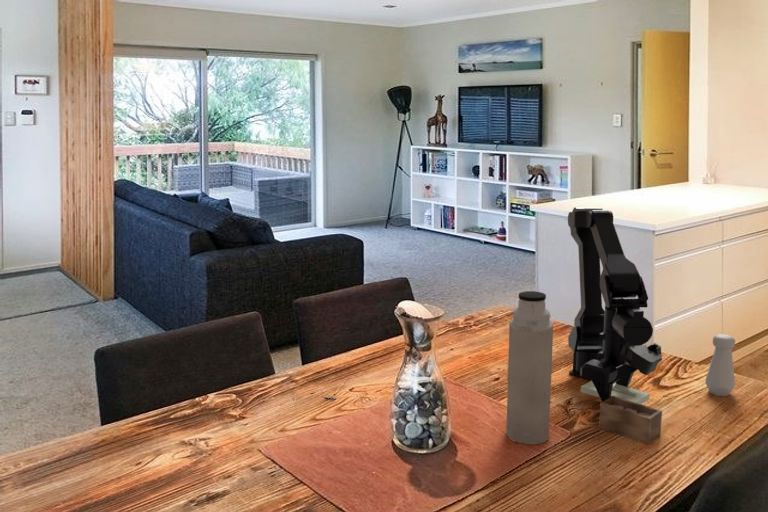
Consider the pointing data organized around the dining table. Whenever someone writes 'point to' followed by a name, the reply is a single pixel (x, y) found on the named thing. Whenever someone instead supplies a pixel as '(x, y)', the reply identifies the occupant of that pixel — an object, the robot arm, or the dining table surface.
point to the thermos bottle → (529, 370)
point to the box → (630, 419)
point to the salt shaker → (721, 366)
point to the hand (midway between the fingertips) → (613, 400)
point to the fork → (328, 398)
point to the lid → (618, 392)
